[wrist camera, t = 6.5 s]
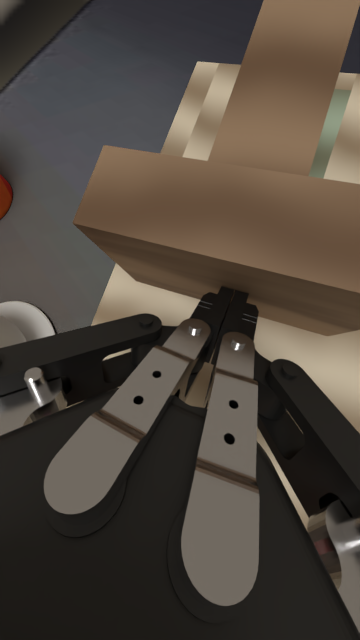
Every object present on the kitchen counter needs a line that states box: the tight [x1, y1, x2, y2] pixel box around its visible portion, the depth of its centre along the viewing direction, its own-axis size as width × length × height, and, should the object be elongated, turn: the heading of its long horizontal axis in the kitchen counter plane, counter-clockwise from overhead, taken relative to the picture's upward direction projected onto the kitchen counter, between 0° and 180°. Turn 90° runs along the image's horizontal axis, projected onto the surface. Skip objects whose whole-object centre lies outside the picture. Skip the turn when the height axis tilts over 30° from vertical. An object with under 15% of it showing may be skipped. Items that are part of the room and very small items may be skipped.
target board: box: [66, 62, 360, 532], centre depth 17 cm, size 32×20×1 cm, turn 160°
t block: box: [73, 0, 360, 336], centre depth 13 cm, size 14×14×8 cm
